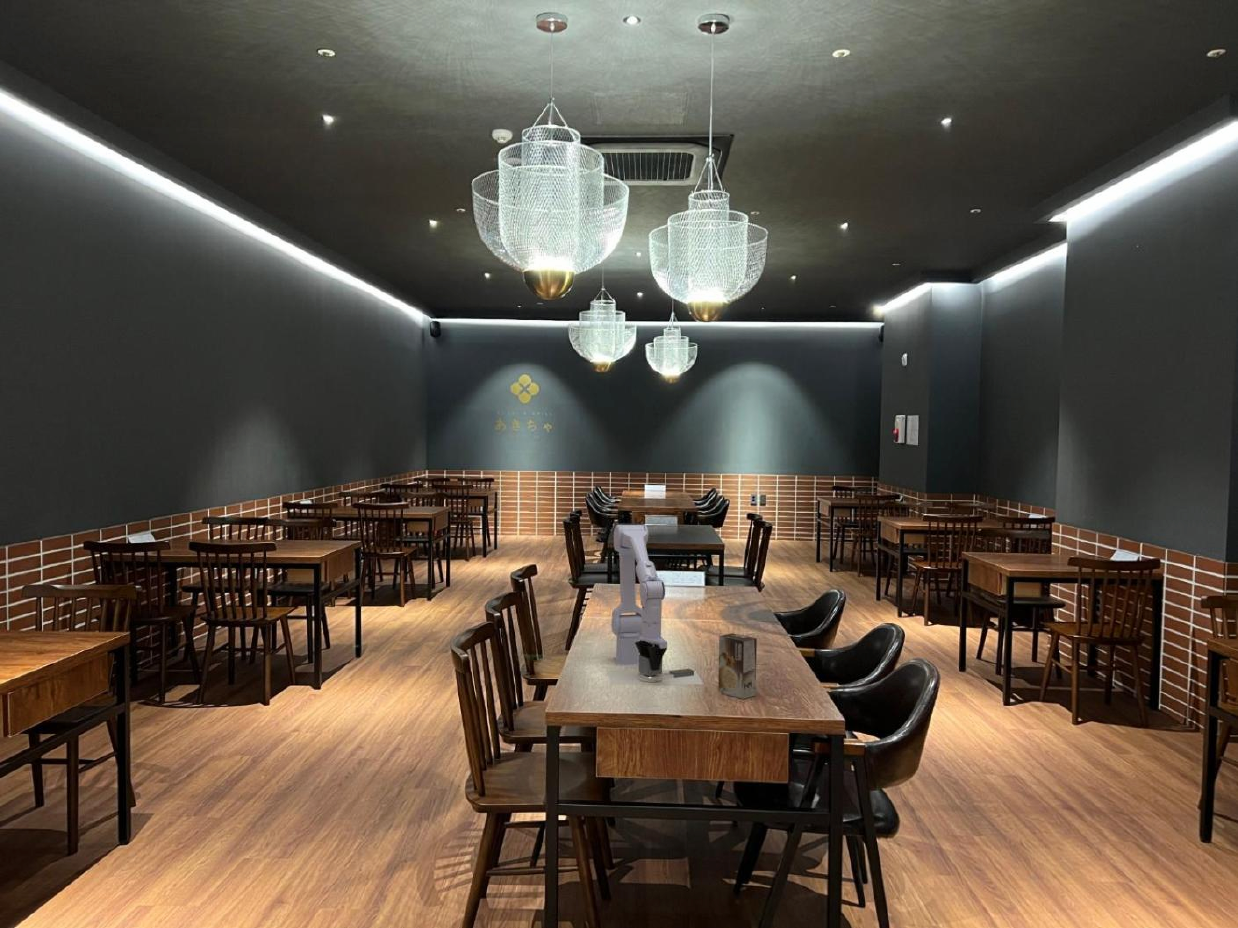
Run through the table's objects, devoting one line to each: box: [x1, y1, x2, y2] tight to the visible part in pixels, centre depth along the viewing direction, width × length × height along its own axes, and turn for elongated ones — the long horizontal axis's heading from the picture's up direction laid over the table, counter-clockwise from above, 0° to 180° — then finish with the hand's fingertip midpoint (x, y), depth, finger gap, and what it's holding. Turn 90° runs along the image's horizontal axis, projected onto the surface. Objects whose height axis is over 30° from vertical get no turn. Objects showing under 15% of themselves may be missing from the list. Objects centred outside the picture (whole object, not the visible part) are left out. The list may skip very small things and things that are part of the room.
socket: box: [638, 654, 663, 676], centre depth 255 cm, size 5×5×5 cm
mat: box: [606, 669, 705, 685], centre depth 259 cm, size 16×27×1 cm, turn 94°
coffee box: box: [717, 633, 758, 700], centre depth 244 cm, size 9×6×16 cm
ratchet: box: [638, 668, 694, 683], centre depth 258 cm, size 7×18×5 cm, turn 119°
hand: (650, 667), depth 255 cm, fingers closed on socket, 5 cm apart
